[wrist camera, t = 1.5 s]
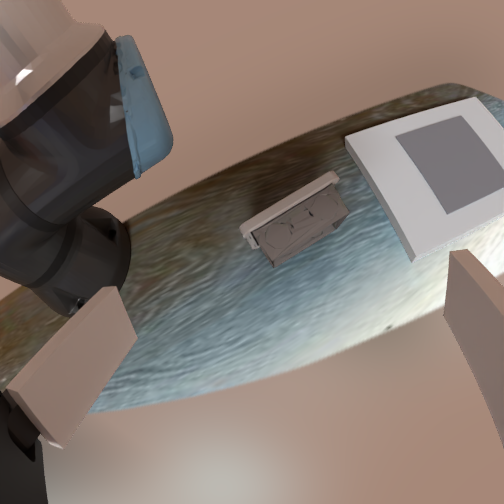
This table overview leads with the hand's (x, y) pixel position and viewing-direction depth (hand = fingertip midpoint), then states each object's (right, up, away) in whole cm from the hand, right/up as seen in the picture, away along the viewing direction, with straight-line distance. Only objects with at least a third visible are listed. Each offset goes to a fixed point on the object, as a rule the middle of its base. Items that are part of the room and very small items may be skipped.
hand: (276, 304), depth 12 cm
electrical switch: (+4, +3, +22) cm, 23 cm away
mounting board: (+23, +12, +20) cm, 33 cm away
